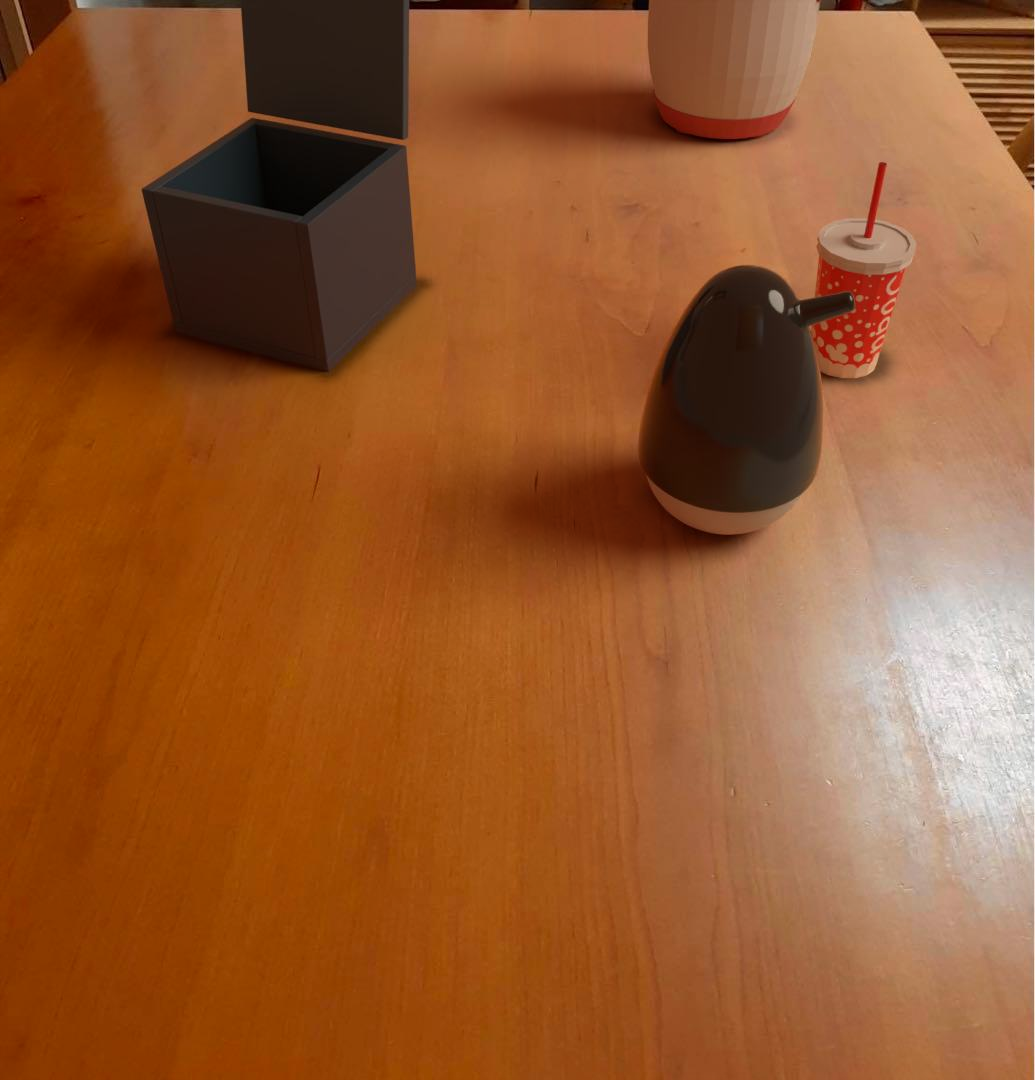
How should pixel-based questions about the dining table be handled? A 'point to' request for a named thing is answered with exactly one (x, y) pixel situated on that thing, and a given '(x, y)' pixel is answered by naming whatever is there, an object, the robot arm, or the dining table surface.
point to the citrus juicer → (729, 62)
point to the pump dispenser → (737, 403)
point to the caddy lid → (329, 62)
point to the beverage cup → (859, 287)
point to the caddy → (285, 240)
